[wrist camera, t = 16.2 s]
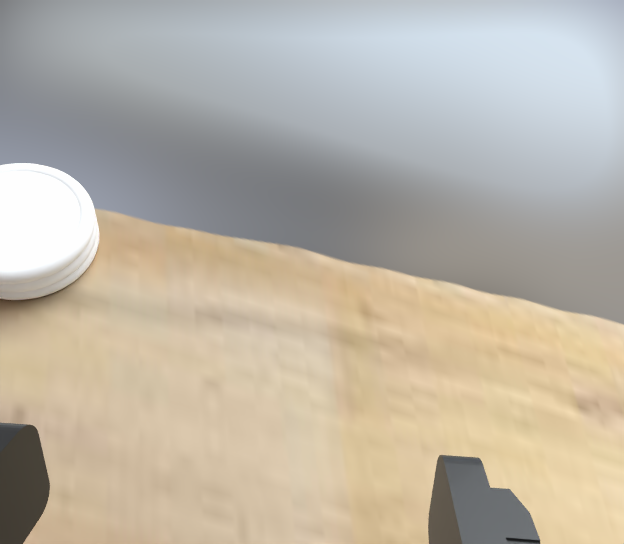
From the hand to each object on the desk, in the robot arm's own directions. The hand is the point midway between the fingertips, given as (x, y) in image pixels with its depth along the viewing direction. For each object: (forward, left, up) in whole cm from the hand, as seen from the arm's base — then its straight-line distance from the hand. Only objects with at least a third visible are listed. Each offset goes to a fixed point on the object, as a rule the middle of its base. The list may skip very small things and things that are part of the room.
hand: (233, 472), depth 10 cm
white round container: (+23, -8, -25) cm, 35 cm away
